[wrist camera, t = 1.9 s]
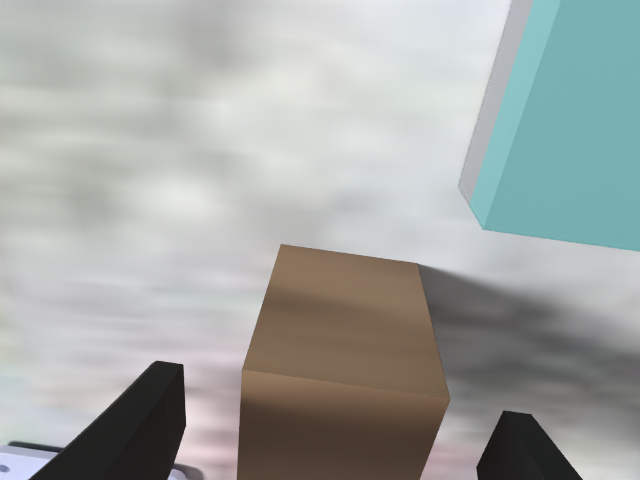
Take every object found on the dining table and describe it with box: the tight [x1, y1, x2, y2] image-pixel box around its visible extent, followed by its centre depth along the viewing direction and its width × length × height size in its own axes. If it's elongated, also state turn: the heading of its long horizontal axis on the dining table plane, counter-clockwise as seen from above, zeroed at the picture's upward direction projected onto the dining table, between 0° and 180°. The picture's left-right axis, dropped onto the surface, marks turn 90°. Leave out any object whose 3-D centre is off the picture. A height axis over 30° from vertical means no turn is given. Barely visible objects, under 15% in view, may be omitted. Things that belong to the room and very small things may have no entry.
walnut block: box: [237, 244, 450, 480], centre depth 11 cm, size 4×4×5 cm
